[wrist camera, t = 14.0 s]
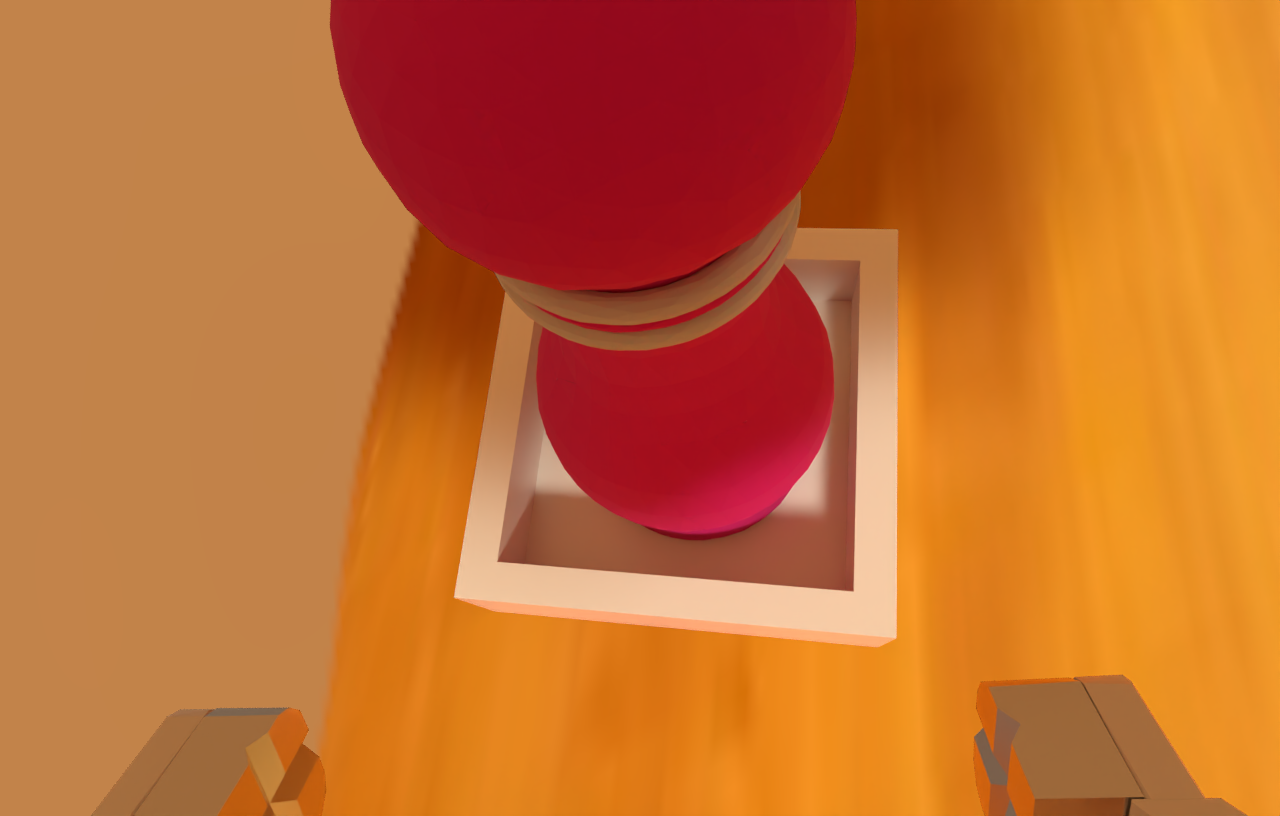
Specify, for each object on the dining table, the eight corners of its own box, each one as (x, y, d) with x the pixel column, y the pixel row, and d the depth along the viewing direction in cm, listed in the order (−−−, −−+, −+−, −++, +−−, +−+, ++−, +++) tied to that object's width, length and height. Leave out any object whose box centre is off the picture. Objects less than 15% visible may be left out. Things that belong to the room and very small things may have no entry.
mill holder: (881, 287, 27) (898, 229, 23) (877, 647, 23) (896, 637, 20) (545, 279, 28) (516, 223, 25) (494, 611, 25) (453, 597, 22)
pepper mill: (557, 359, 26) (40, -492, 8) (783, 297, 26) (825, -760, 7) (605, 586, 24) (5, 154, 5) (856, 522, 23) (1222, -207, 5)
